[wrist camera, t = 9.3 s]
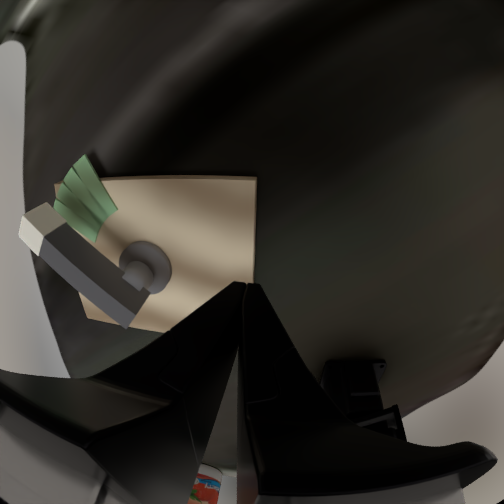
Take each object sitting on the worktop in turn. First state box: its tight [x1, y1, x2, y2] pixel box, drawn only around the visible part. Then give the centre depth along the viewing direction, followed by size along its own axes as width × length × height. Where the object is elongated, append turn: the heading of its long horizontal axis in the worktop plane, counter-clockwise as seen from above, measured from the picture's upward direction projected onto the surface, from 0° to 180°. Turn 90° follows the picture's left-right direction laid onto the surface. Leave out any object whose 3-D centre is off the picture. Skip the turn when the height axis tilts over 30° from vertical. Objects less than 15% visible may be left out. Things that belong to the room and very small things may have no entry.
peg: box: [18, 202, 154, 329], centre depth 18 cm, size 11×2×4 cm, turn 50°
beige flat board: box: [53, 154, 257, 333], centre depth 22 cm, size 16×18×2 cm
